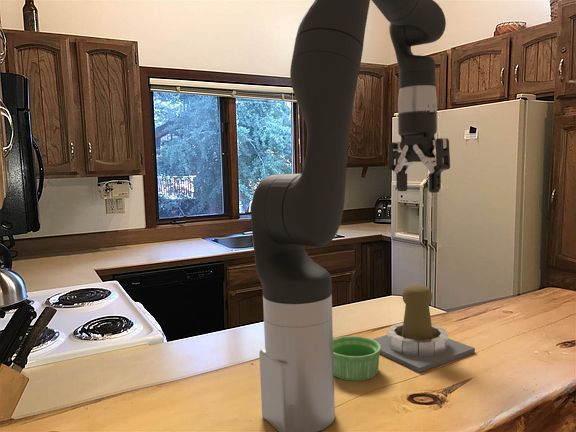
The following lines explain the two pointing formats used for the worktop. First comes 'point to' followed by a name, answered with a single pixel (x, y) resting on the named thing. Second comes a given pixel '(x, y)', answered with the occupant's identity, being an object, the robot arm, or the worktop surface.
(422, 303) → the cork
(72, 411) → the worktop surface
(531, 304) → the worktop surface
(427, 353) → the ring collar
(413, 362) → the fitting mat
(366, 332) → the worktop surface
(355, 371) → the ramekin
